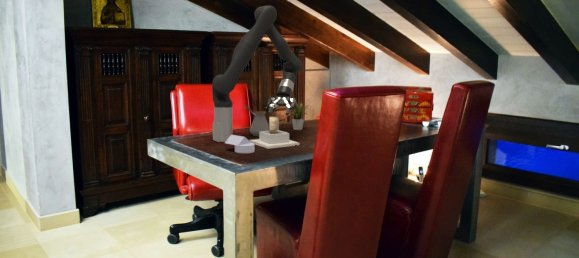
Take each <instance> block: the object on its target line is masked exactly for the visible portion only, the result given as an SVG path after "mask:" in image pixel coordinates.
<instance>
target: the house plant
mask: <svg viewBox="0 0 579 258" xmlns="http://www.w3.org/2000/svg"><path fill="white" fill-rule="evenodd" d="M291 105H292V103H291ZM291 105H290V106H291ZM303 105H304V104H303V103H302V102H300V105H298V103H296V104H295V109H294V110H293V109H291V110H292V111H293V112H291V111H290V113H289V114H292V115H293V116H294V117H293V118H291V120H292V121H291V122H292V128H293V130H295V131H302V130H303V126H304V119H305V118H303V116H304V115H308V111H304V110H306V109H307V108H308V107H309V106H310V104H309V105H305V106H304V107H303Z"/></svg>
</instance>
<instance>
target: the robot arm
mask: <svg viewBox="0 0 579 258" xmlns="http://www.w3.org/2000/svg"><path fill="white" fill-rule="evenodd" d="M277 15H278V13H277V9H276V8H275V7H274V6H272V5H263V6H262V5H261V6H259V7H256V9H255V11H254V19H255V23H254V25H253V26H252V27H251V28H250V29H249V30H248V31H247V32H246V33H245V34H243V36H242V38H241V39H240V40H239V41H238V43H237V45H236V46H235V48H234V50H233V53H232V58H231V61H230V64H229V67H228V68H227V69H226V71H225V72H224V73H223V74H217V75H216V76H215V77H213V80H212V84H211V91H212V92H211V93H212V101H213V109H214V111H213V114H214V115H213V117H214V118H213V121H212V140H213V141H215V142H217V143H219V142H222V143H225V142H226V141H227V139H228V138H229V137H230V136H231V135H234V134H233V131H234V130H233V126H234V125H233V115H234V114H233V111H234V110H233V107H234V106H233V104H234V103H233V100H232V99H231V95H230V93H233V91H234V90H235V88H236V86H237V83H238V81H239V79H240V77H241V75H242V73H243V71H244V69H245V68H246V67H247V65H248V63H249V62H250V60H251V59H252V57H253V56H254V53H255V52H256V50H257V48H258V47H259V45H260V43H261V41H262V40H263V39H264V36H265V35H266V36H267V38H268V39H269V40H270V42H271V44H272V46H273V47H274V49H275V51H276V52H277V55H278V57H279V59H281V60H284V61H286V62H284V63H283V65H282V78H281V81H280V83H279V85H278V89H277V92H276V94H275V95H276V96H275V97H273V96H269V99H268V101H267V103H266V106H267V108H268V113H269V115H272V114H273V112H274V109H275V108H277V107H286V110H285V117H288V115H290V114H291V113H290V112H291V110H292V109H293V110H294V109H296V105H297V100H296V98H295V97H292V95H293V92H294V85H295V83H296V78H297V76H296V75H295V74H296V73H300V72H301V71H302V70H303V64H302V61H301V60H300V58H298V56H297V55H296V54H295V53H294V52H293V51H292V50H291V48H290V45H289V44H288V42H287V40H286V39H285V38H284V36H283V35H282V34H281V33H280V32H279V31H278V30H277V28H276V27H275V25H274V23H275V21H276V20H277ZM290 103H291V104H292V105H290ZM293 110H292V111H293Z"/></svg>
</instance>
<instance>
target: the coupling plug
mask: <svg viewBox="0 0 579 258" xmlns="http://www.w3.org/2000/svg"><path fill="white" fill-rule="evenodd" d="M268 125H269V130H270V134H279V131H280V128H279V127H280V118H279V116H269V122H268Z"/></svg>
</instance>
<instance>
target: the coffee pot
mask: <svg viewBox="0 0 579 258" xmlns="http://www.w3.org/2000/svg"><path fill="white" fill-rule="evenodd" d="M244 108H245V109H247V110H248V111H249V112H250V113H251V114H253V115H254V117H253V121H252V123H251V125H250V128H249V133H250V134H251V135H252V136H254V137H259V132H262V131H270V130H269V122H268V121H267V118H266V113H267V111H264V110H263V111H262V110H256V111H253V110H252V109H251V108H250V107H249V106H247V105H244Z"/></svg>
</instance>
